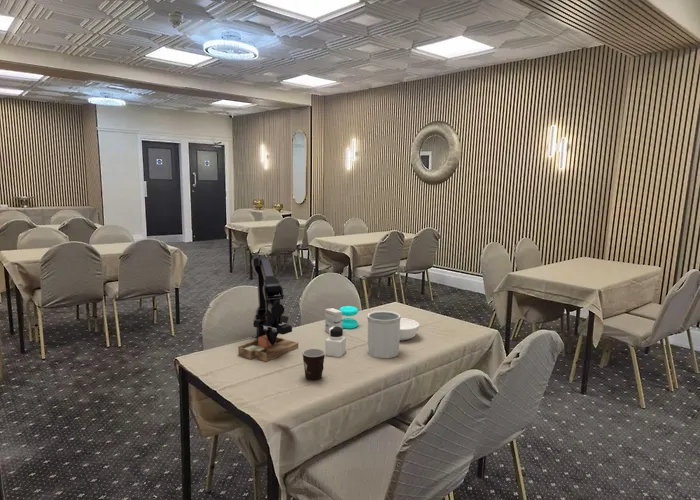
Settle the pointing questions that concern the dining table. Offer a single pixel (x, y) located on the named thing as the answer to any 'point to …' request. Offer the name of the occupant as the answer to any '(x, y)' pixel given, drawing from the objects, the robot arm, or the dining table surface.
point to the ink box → (332, 318)
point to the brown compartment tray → (266, 349)
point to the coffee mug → (313, 363)
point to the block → (264, 341)
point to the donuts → (349, 322)
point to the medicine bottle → (335, 342)
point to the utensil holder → (383, 334)
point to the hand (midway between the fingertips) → (272, 344)
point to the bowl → (408, 328)
